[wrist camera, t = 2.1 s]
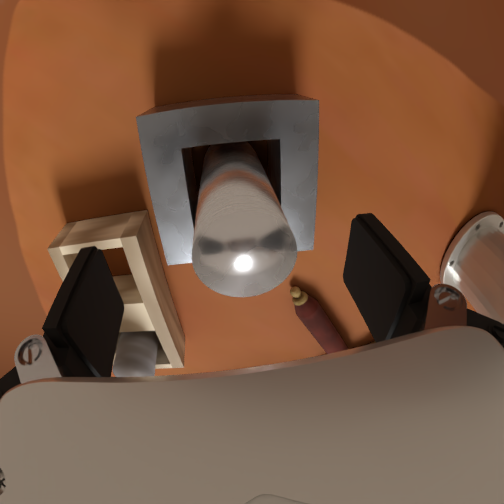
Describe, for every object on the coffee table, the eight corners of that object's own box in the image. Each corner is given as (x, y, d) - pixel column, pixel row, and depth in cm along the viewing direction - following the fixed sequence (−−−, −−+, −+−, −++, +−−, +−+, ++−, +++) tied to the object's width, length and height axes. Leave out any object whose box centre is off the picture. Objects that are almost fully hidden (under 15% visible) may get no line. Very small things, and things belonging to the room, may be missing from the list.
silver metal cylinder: (256, 134, 20) (299, 205, 10) (258, 185, 22) (295, 291, 12) (200, 140, 19) (182, 216, 10) (206, 190, 22) (200, 301, 12)
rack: (147, 209, 22) (125, 262, 16) (185, 338, 31) (183, 391, 25) (66, 223, 22) (31, 272, 16) (121, 341, 31) (111, 391, 25)
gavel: (251, 327, 27) (346, 277, 25) (247, 296, 31) (331, 250, 29) (328, 402, 37) (391, 372, 35) (322, 378, 41) (380, 349, 38)
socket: (296, 94, 18) (318, 100, 14) (296, 215, 24) (313, 249, 20) (154, 106, 18) (136, 116, 13) (175, 228, 23) (167, 265, 19)
